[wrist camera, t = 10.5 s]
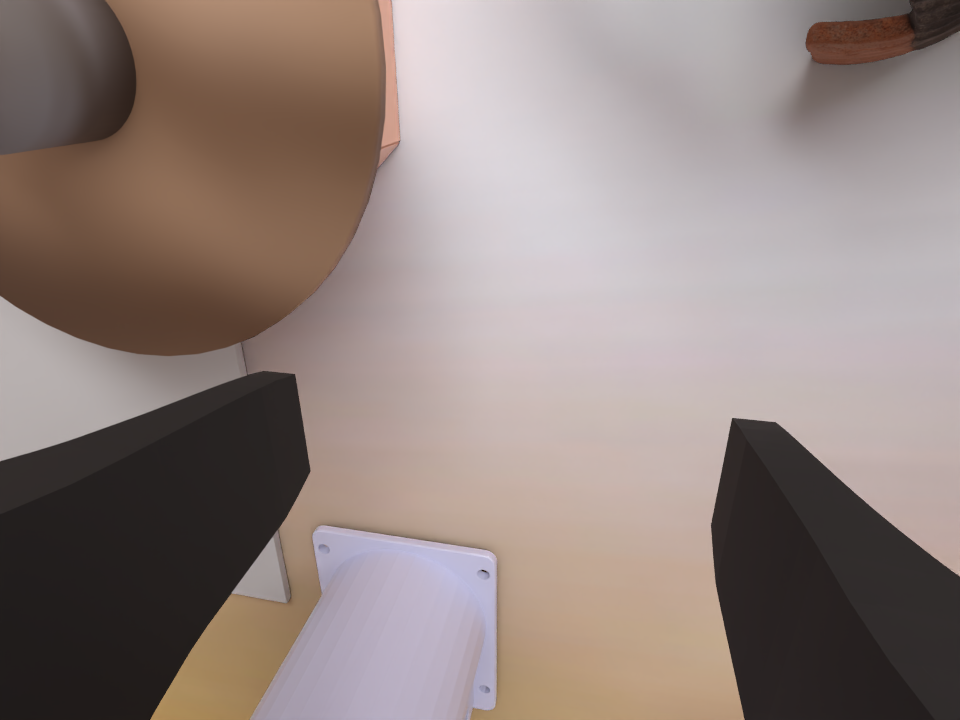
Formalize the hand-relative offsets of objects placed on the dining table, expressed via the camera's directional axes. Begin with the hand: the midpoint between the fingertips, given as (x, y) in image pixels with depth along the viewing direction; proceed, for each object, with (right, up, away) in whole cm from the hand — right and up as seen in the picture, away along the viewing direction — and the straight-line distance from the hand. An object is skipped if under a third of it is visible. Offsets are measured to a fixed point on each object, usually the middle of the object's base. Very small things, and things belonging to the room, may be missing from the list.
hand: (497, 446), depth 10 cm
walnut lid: (-10, +9, +4) cm, 14 cm away
